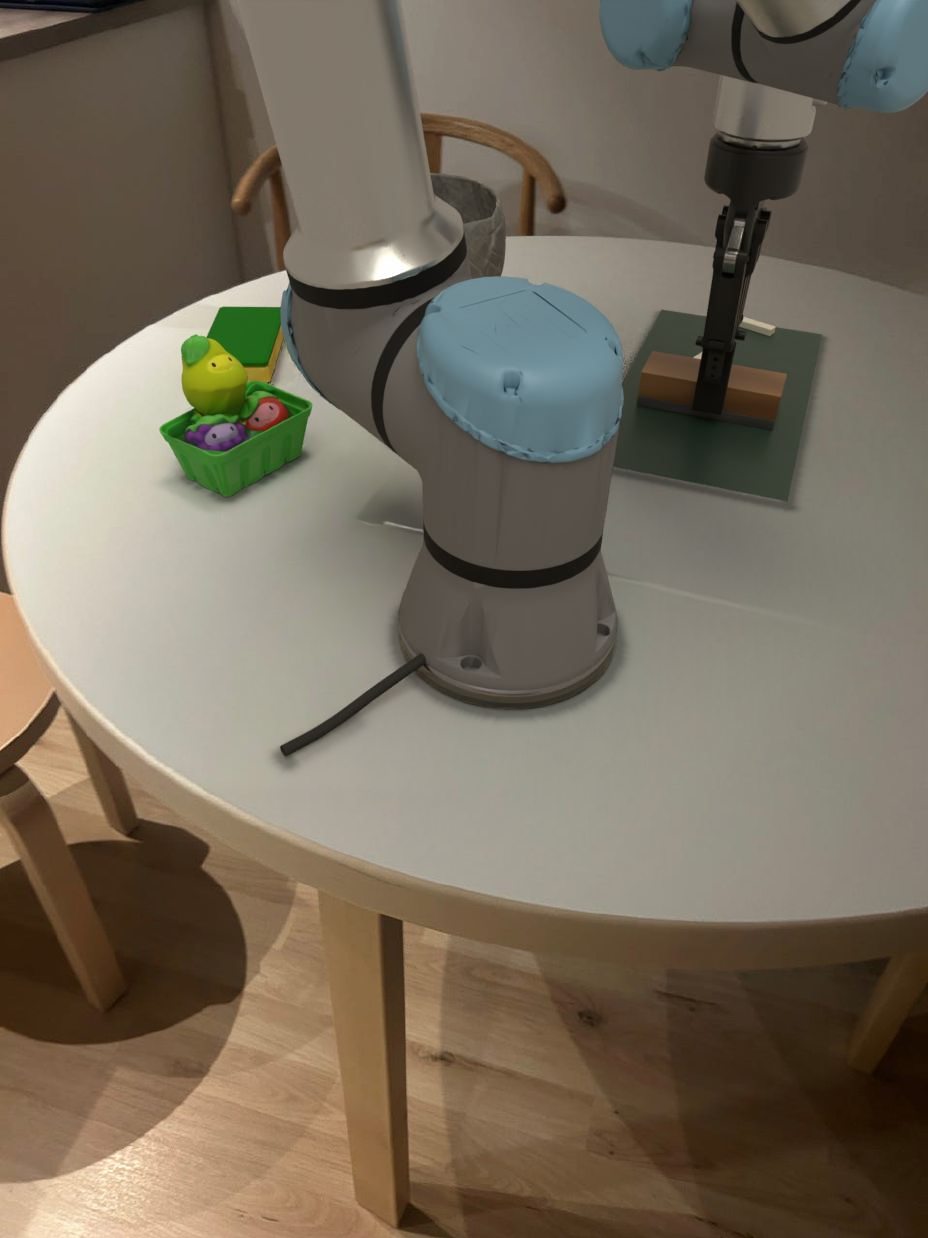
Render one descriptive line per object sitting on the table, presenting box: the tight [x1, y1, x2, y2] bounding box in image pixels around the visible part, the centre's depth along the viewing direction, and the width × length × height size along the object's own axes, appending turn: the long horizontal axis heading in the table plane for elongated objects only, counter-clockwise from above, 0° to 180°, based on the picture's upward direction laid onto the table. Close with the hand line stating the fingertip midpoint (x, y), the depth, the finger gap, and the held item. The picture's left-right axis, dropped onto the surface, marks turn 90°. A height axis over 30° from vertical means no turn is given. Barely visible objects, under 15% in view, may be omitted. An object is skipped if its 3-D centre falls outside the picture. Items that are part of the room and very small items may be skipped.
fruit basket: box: [158, 333, 314, 498], centre depth 81 cm, size 11×9×11 cm
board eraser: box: [637, 351, 787, 430], centre depth 92 cm, size 5×13×4 cm, turn 69°
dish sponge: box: [206, 306, 284, 384], centre depth 101 cm, size 7×14×2 cm, turn 1°
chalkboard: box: [613, 309, 823, 502], centre depth 96 cm, size 36×18×1 cm, turn 160°
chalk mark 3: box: [739, 316, 777, 336], centre depth 107 cm, size 5×1×1 cm, turn 50°
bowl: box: [430, 172, 507, 279], centre depth 101 cm, size 20×20×15 cm
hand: (707, 408), depth 90 cm, fingers closed
